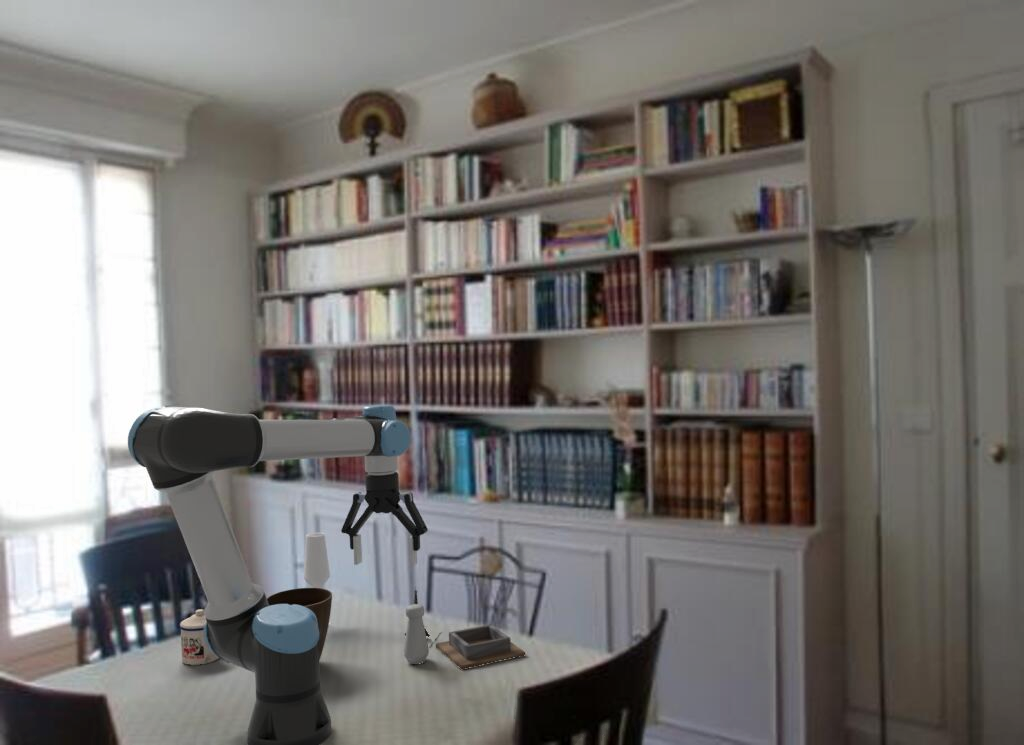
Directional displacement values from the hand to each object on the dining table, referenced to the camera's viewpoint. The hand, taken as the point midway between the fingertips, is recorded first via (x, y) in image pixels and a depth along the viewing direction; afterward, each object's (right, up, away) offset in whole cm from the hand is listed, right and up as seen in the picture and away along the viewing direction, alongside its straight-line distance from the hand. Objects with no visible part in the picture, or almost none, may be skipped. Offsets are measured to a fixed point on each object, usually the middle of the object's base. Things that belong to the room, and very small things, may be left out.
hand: (385, 564), depth 188 cm
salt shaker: (+7, -23, 0) cm, 24 cm away
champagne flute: (-22, -23, +28) cm, 42 cm away
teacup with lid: (-43, -24, +5) cm, 50 cm away
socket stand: (+21, -22, +5) cm, 31 cm away
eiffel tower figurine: (+6, -23, +16) cm, 29 cm away
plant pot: (-19, -24, -1) cm, 30 cm away
